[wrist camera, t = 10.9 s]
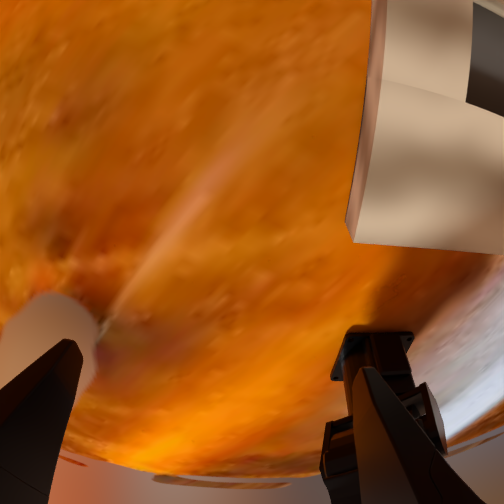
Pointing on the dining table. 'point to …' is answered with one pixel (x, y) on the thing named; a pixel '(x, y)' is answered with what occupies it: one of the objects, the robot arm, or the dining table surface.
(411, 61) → the trap board
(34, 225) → the dining table surface
